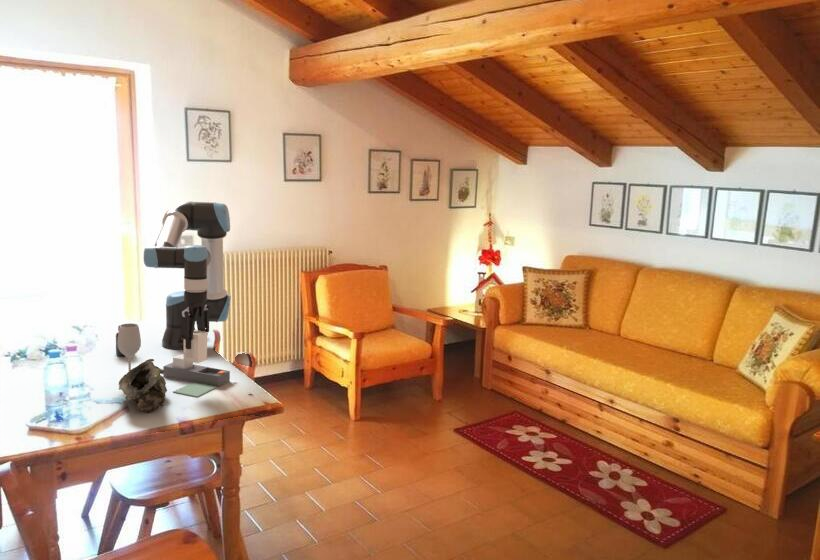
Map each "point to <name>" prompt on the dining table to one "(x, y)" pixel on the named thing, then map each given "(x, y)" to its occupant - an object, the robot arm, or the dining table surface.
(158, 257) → the robot arm
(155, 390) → the hollow geode rock
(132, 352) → the wineglass
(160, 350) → the dining table surface
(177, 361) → the block
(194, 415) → the dining table surface
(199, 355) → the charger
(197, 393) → the felt mat
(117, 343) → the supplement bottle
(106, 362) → the dining table surface
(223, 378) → the power strip
